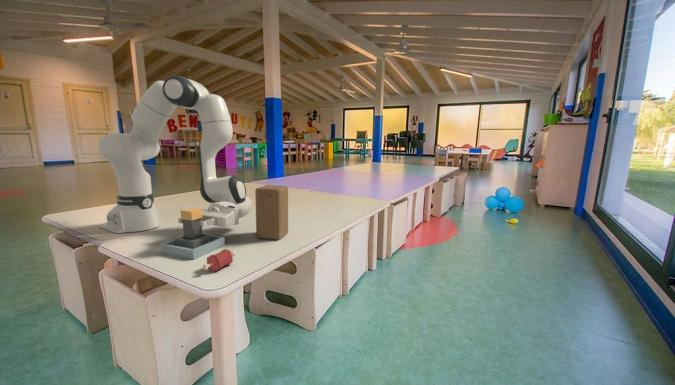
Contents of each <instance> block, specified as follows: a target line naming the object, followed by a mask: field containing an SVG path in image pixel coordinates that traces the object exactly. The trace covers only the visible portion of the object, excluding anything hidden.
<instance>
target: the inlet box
mask: <svg viewBox="0 0 675 385" xmlns="http://www.w3.org/2000/svg"><path fill="white" fill-rule="evenodd" d="M225 241H226V240H225V236H219V235H213V234H209V233H203V232H202V237H200V238H198V239H195V240H189V239H184V234H183V235H181V236H178V237H175V238H174V239H172V240H169V241H167V242H162V243H160V245H159V247H160V253H161V254H163V255H168V256H174V257H179V258H183V259H187V260H194V261H195V260H196V259H199V258H200V257H203V256H205V255H207V254H209V253H211V252H213V251H215V250H218V249H220V248H222V247H224V246H225V245H226V242H225Z"/></svg>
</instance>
